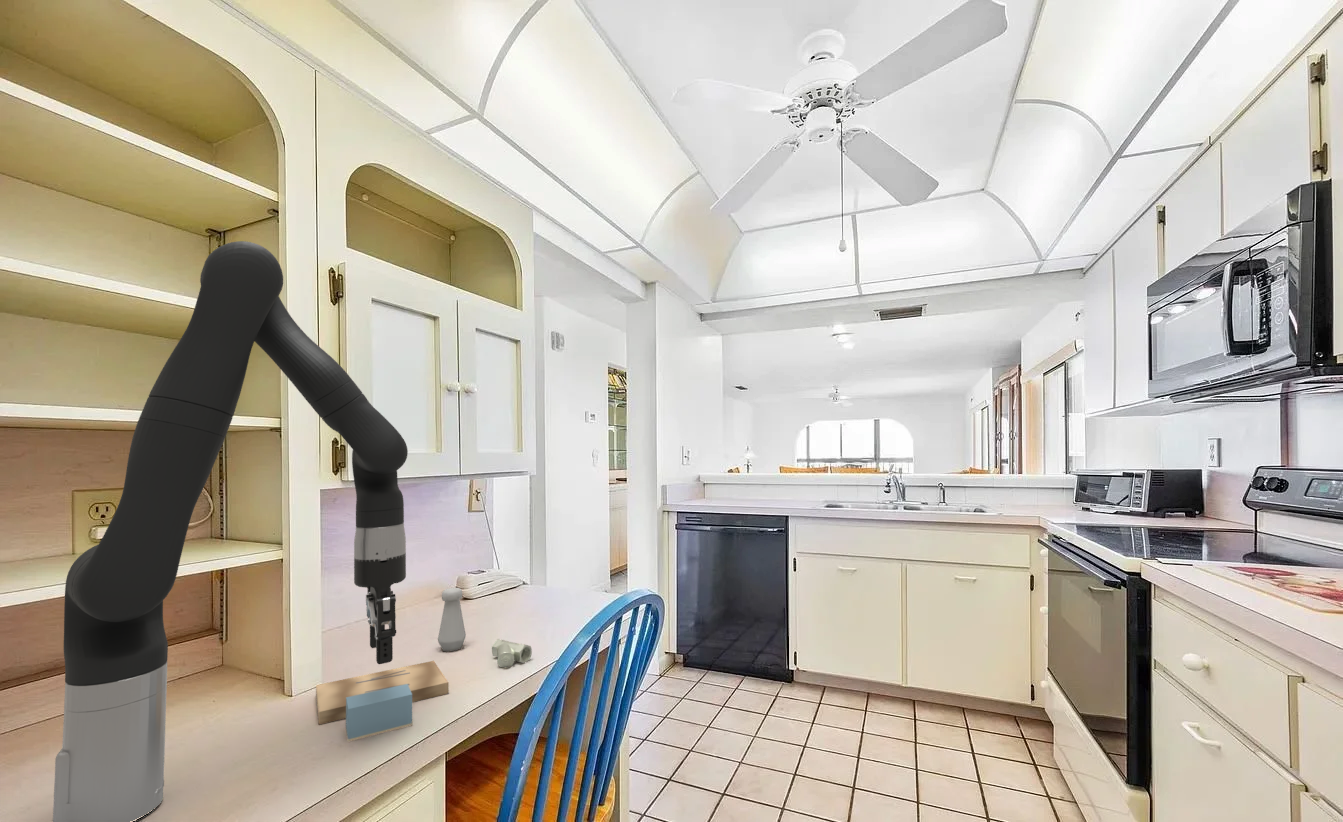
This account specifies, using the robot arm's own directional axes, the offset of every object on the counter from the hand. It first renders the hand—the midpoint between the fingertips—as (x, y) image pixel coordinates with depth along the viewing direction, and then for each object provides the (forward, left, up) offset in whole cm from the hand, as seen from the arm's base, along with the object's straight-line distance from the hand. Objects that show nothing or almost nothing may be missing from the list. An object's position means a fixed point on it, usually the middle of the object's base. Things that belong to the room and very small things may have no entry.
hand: (380, 654), depth 93 cm
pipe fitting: (+25, +16, -12) cm, 32 cm away
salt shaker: (+18, +31, -11) cm, 37 cm away
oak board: (+2, +13, -11) cm, 17 cm away
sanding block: (0, 0, -11) cm, 11 cm away
